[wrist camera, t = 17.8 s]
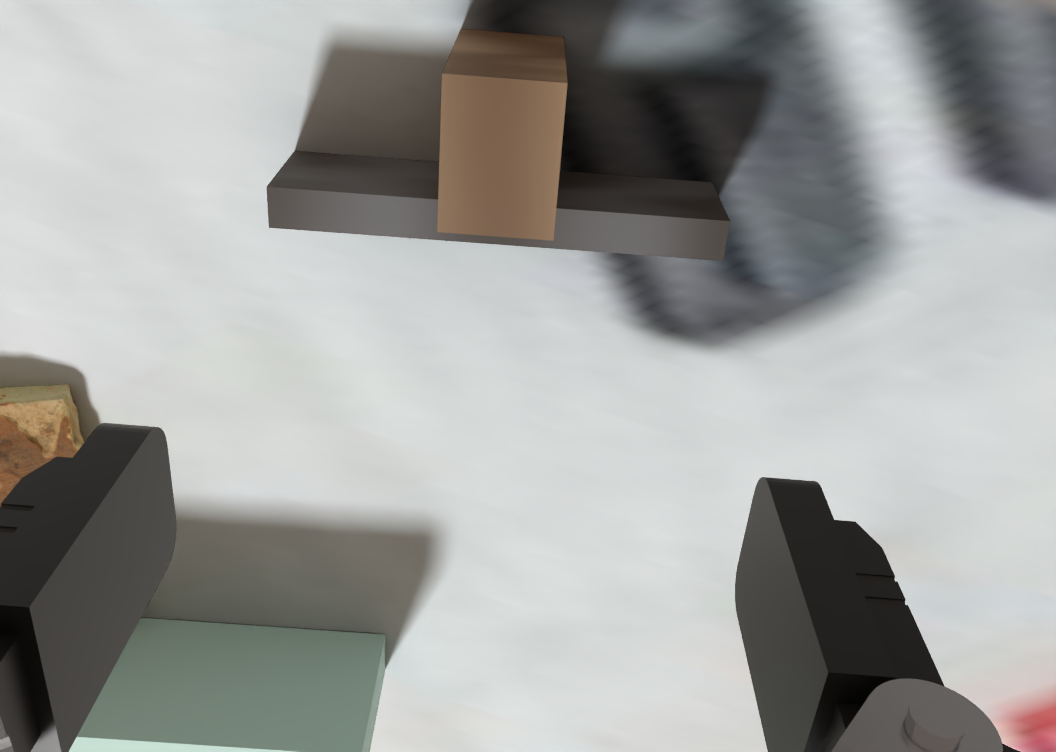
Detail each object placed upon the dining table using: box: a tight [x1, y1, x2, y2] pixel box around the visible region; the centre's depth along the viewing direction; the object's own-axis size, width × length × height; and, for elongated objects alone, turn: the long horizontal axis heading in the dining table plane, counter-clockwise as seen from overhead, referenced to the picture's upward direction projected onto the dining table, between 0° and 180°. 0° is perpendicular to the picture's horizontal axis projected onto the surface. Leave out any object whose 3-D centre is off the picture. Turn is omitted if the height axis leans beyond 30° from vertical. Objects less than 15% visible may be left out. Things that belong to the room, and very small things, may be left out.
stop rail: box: [69, 618, 385, 752], centre depth 38 cm, size 22×2×6 cm, turn 86°
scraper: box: [267, 29, 730, 261], centre depth 27 cm, size 13×5×6 cm, turn 86°
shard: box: [0, 384, 84, 507], centre depth 37 cm, size 11×8×2 cm
